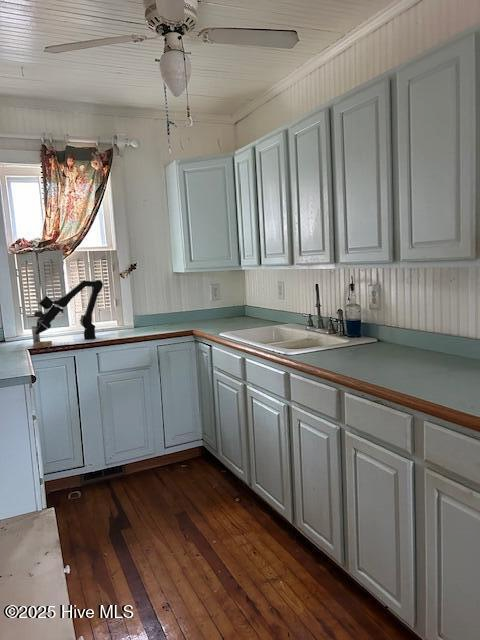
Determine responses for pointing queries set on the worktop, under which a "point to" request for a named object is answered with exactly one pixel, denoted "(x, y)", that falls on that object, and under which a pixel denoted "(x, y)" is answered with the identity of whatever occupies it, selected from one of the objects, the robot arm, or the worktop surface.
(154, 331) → the worktop surface
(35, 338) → the column
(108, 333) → the worktop surface
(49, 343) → the step
